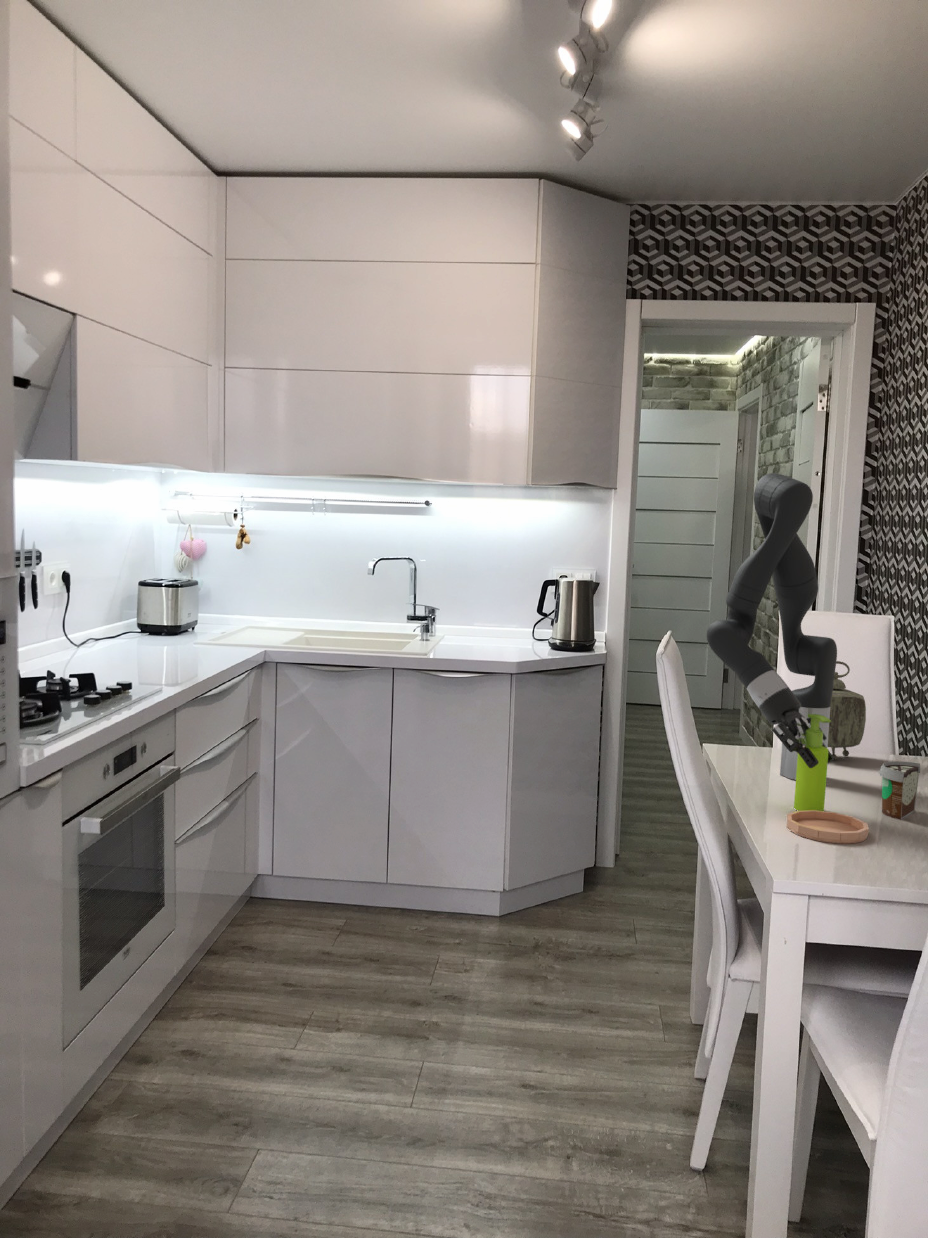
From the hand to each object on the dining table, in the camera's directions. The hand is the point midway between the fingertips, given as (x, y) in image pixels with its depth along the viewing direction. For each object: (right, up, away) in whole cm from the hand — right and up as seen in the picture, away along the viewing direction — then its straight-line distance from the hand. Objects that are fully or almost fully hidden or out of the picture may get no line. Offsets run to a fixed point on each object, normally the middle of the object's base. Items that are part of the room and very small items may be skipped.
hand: (822, 763), depth 209 cm
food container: (+16, -11, +4) cm, 20 cm away
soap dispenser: (-2, -10, +2) cm, 11 cm away
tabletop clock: (+20, -6, +53) cm, 57 cm away
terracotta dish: (-3, -11, -12) cm, 17 cm away
